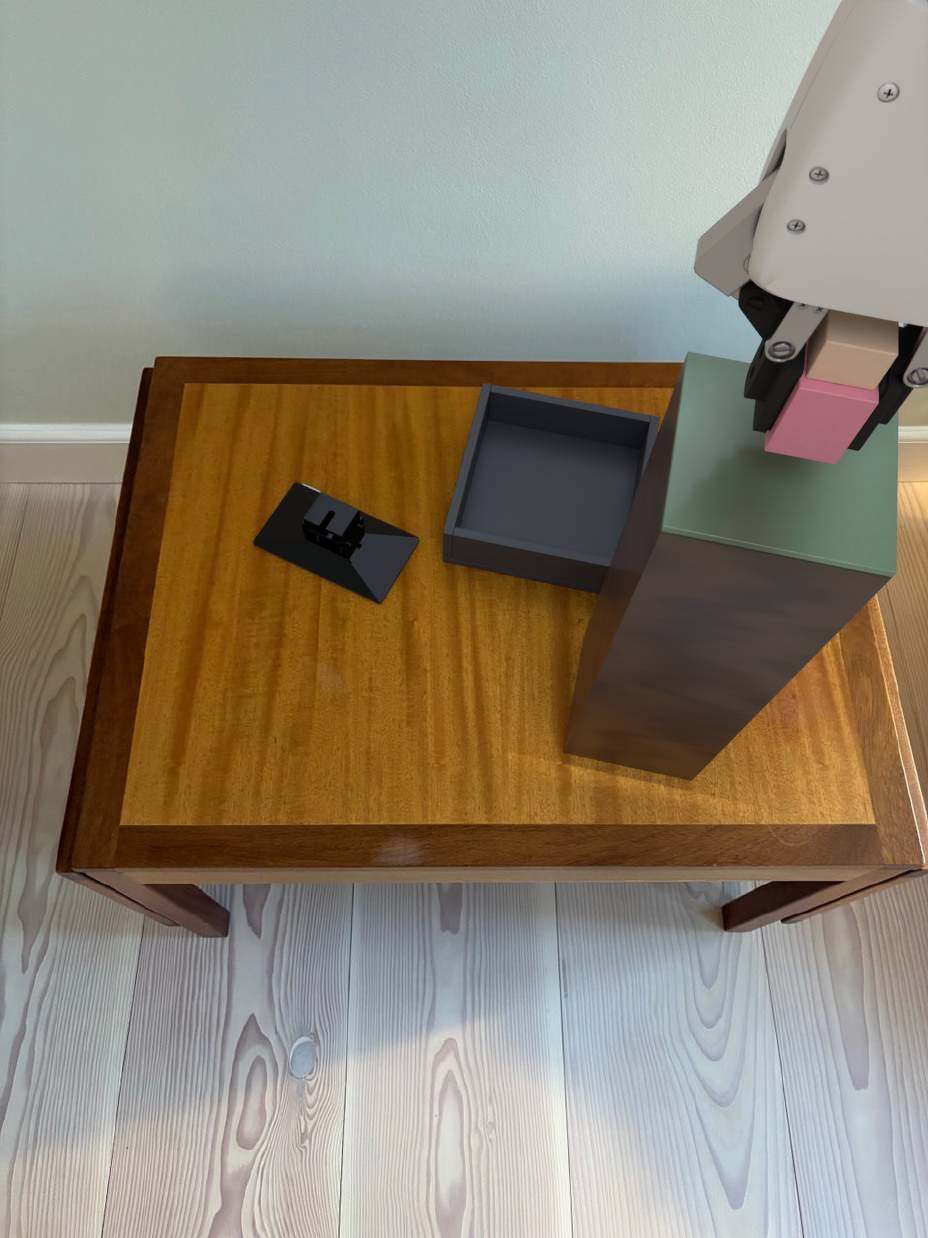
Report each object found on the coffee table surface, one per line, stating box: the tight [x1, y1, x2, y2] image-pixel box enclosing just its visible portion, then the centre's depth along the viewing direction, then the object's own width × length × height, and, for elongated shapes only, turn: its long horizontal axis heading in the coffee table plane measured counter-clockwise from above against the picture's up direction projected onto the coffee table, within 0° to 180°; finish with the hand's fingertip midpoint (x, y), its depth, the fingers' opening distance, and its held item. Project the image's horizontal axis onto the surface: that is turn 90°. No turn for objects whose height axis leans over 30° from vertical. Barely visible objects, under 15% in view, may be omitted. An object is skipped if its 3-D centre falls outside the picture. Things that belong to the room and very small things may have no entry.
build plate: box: [252, 481, 420, 605], centre depth 74 cm, size 12×7×5 cm, turn 63°
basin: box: [442, 382, 661, 595], centre depth 76 cm, size 16×16×5 cm
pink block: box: [764, 309, 900, 464], centre depth 35 cm, size 3×4×6 cm
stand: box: [562, 351, 900, 782], centre depth 55 cm, size 10×10×34 cm
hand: (807, 411), depth 37 cm, fingers closed on pink block, 3 cm apart
